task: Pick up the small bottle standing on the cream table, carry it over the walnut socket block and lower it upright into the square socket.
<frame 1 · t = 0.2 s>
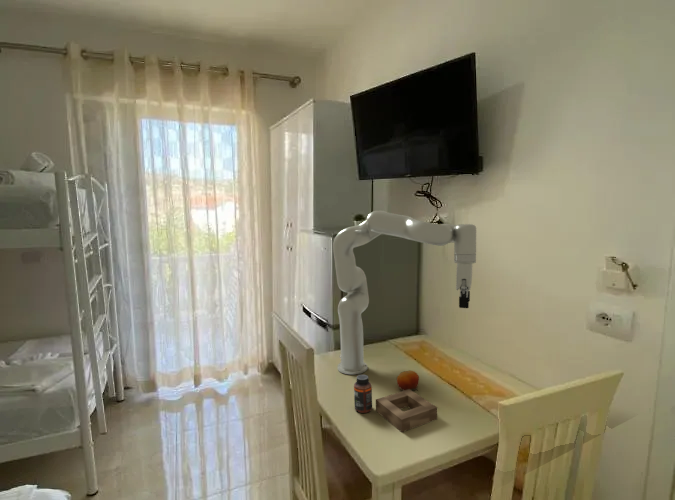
hand: (464, 304, 139), 31 cm above the table, tool pointing down, fingers open, 9 cm apart
fruit: (408, 389, 141), on the table
socket block: (405, 414, 123), on the table
supplement bottle: (363, 409, 127), on the table
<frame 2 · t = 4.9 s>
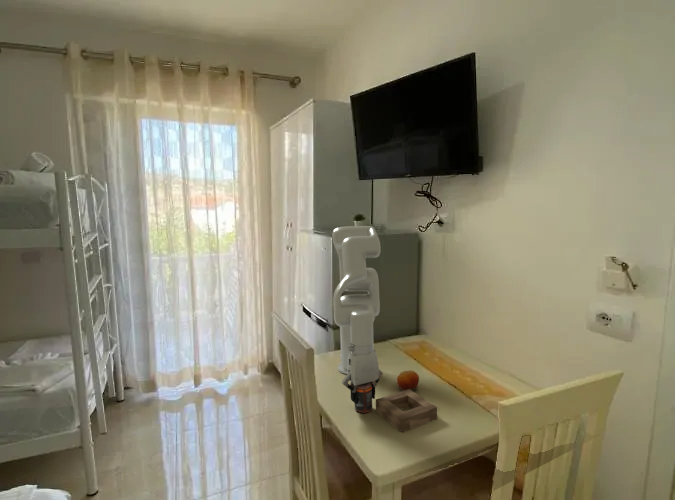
hand: (363, 399, 127), 4 cm above the table, tool pointing down, fingers closed on supplement bottle, 6 cm apart
supplement bottle: (363, 409, 127), on the table, touching gripper
everything else where it was.
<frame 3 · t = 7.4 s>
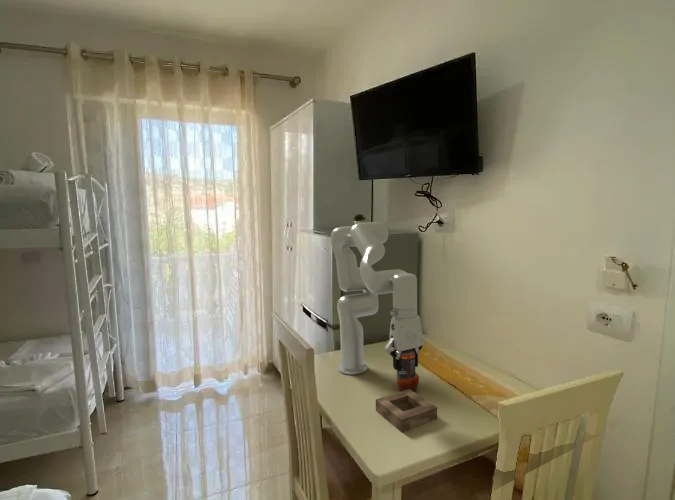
hand: (405, 367, 121), 16 cm above the table, tool pointing down, fingers closed on supplement bottle, 6 cm apart
supplement bottle: (406, 378, 121), point 12 cm above the table, touching gripper
everything else where it was.
when the fingers open (5 cm above the table, at t = 9.9 s): supplement bottle drops 2 cm, resting in socket block.
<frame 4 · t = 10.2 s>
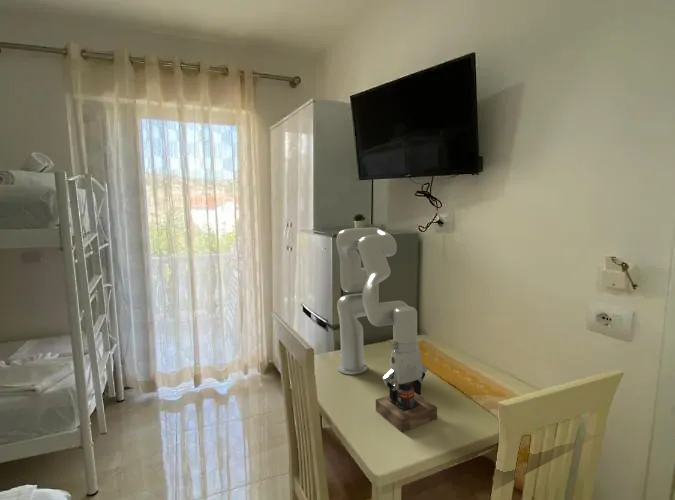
hand: (405, 396, 122), 6 cm above the table, tool pointing down, fingers open, 9 cm apart
supplement bottle: (405, 415, 123), resting in socket block
everything else where it was.
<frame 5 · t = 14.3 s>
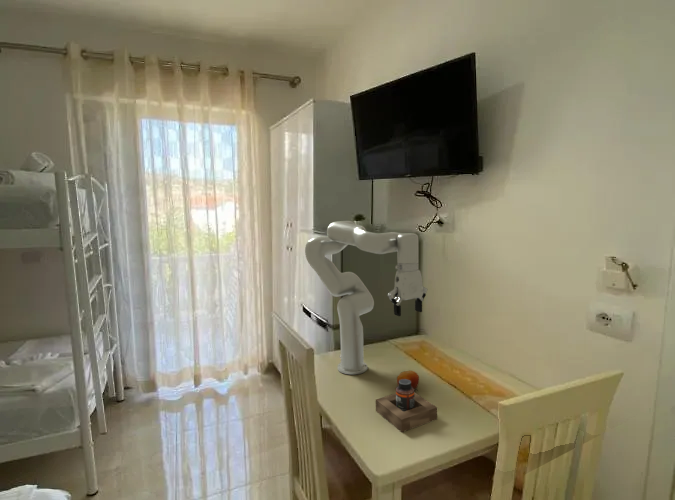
hand: (408, 313, 139), 28 cm above the table, tool pointing down, fingers open, 9 cm apart
nothing on the table moved.
at the end: supplement bottle 0.2 cm off-centre on the socket block, point 0.0 cm above the socket block's base; supplement bottle tilted 0°; the gripper is holding nothing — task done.
